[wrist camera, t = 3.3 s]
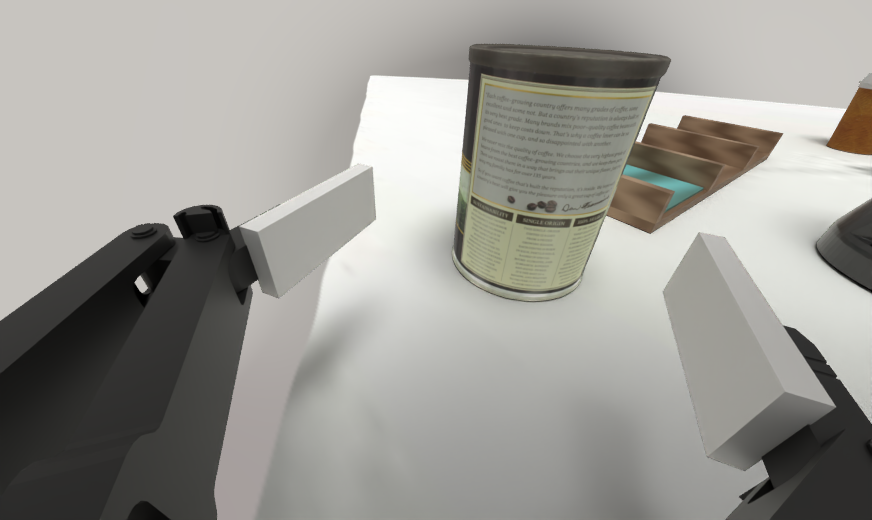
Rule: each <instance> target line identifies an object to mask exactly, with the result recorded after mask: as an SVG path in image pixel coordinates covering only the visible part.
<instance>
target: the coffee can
mask: <svg viewBox="0 0 872 520" xmlns="http://www.w3.org/2000/svg"><path fill="white" fill-rule="evenodd" d="M469 60H470V73H469V84H468V95H467V106H466V117H465V128H464V139H463V150H462V161H461V172H460V183H459V194H458V204H457V216H456V226H455V238H454V246H453V250H452V256H453V260H454V263H455V265H456V267H457V269H458V270H459V271H460V273H461V274H462V275H463V276H464V277H465V278H467V279H468V280H469V281H470V282H472V283H473V284H474V285H476V286H478V287H480V288H481V289H483V290H486V291H488V292H490V293H493V294H495V295H498V296H501V297H504V298H509V299H516V300H521V301H545V300H551V299H555V298H559V297H563V296H564V295H566V294H568V293H570V292H571V291H573V290H574V289H575V288H576V287H577V286H578V285H579V283H580V282H581V279H582V276H583V272H584V269H585V266H586V264H587V262H588V259H589V257H590V254H591V251H592V249H593V247H594V244H595V242H596V239H597V237H598V234H599V231H600V229H601V226H602V224H603V221H604V219H605V217H606V214H607V212H608V209H609V206H610V204H611V201H612V199H613V197H614V194H615V191H616V189H617V187H618V184H619V182H620V179H621V177H622V174H623V172H624V169H625V167H626V165H627V162H628V159H629V157H630V154H631V152H632V149H633V146H634V144H635V141H636V139H637V137H638V134H639V132H640V129H641V126H642V124H643V121H644V119H645V116H646V113H647V111H648V108H649V106H650V103H651V101H652V98H653V96H654V94H655V91H656V89H657V86H658V84H659V81H660V78H661V77H662V76H663V75H664V74H665V73H666V71H667V69H668V67H669V64H670V62H671V59H670V58H668V57H666V56H662V55H653V54H646V53H636V52H635V53H634V52H623V51H614V50H599V49H585V48H572V47H555V46H554V47H553V46H552V47H551V46H533V45H514V44H475V45H472V46H470V49H469Z"/></svg>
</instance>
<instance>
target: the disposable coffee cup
mask: <svg viewBox="0 0 872 520" xmlns="http://www.w3.org/2000/svg"><path fill="white" fill-rule="evenodd" d="M859 83H860V85H859V89H858V90H857V92H856V94H855V96H854V98H853V99H852V101H851V103H850V105H849V106H848V108H847V110H846V112H845V113H844V115H843V117H842V119H841V121H840V122H839V124H838V126H837V128H836V130H835V131H834V133H833V135H832V137H831V138H830V140H829V142H828V144H827V146H828V147H830V148H833V149H837V150H841V151H845V152H851V153H857V154H866V155H871V154H872V73H870V74H869V75H868V76H867V77H866V78H864V79H863V80H862V81H860V82H859Z"/></svg>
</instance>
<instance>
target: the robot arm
mask: <svg viewBox="0 0 872 520" xmlns="http://www.w3.org/2000/svg"><path fill="white" fill-rule="evenodd" d="M173 217H174V219H175V221H176V223H177V225H178V228H179V230H180V232H181V234H182V236H183V238H175V237H173V235H172V233H171V231H170V229H169V227H168V226H167V225H165V224H159V223H154V224H150V223H147V224H144V225H143V224H141V225H138V226H136V227H134V228H131V229H129V230H127V231H125V232H124V233H122V234H121V235H119V236H118V237H116V238H115V239H114V240H112V241H111V242H110V243H108V244H107V245H105V246H104V247H103V248H101V249H100V250H98V251H97V252H96V253H94V254H93V255H92V256H90V257H89V258H87V259H86V260H84V261H83V262H82V263H80V264H79V265H78V266H76V267H75V268H73V269H72V270H70V271H69V272H68V273H66V274H65V275H64V276H62V277H61V278H59V279H58V280H57V281H55V282H54V283H52V284H51V285H50V286H48V287H47V288H46V289H44V290H43V291H41V292H40V293H39V294H37V295H36V296H34V297H33V298H32V299H30V300H29V301H27V302H26V303H25V304H23V305H22V306H20V307H19V308H18V309H16V310H15V311H14V312H12V313H11V314H9V315H8V316H7V317H5V318H4V319H2V320H1V321H0V520H217V510H216V505H215V498H214V486H215V480H216V475H217V470H218V465H219V459H220V455H221V450H222V445H223V440H224V435H225V430H226V425H227V420H228V415H229V409H230V404H231V400H232V394H233V389H234V385H235V379H236V374H237V369H238V364H239V360H240V355H241V350H242V344H243V340H244V335H245V329H246V325H247V319H248V314H249V309H250V304H251V299H252V294H253V292H252V288H251V284H252V283H254V282H255V281H257V280H258V281H259V284H260V287H261V290H262V292H263V293H265V294H268V295H271V296H273V297H276V298H280V297H282V296H283V295H284V294H285V293H286V292H288V291H289V290H290V289H291V288H293V287H294V286H295V285H296V284H297V283H298V282H300V281H301V280H302V279H303V278H305V277H306V276H307V275H309V274H310V273H311V272H312V271H313V270H315V269H316V268H317V267H318V266H319V265H321V264H322V263H323V262H324V261H325V260H327V259H328V258H329V257H330V256H332V255H333V254H334V253H335V252H337V251H338V250H339V249H340V248H341V247H343V246H344V245H345V244H346V243H348V242H349V241H350V240H351V239H352V238H354V237H355V236H356V235H357V234H359V233H360V232H361V231H362V230H363V229H365V228H366V227H367V226H368V225H370V224H371V223H372V222H373V221H374V220H376V211H375V196H374V182H373V167H372V166H367V165H362V164H357V165H355V166H353V167H351V168H349V169H347V170H345V171H344V172H342V173H340V174H338V175H336V176H334V177H332V178H330V179H328V180H326V181H325V182H323V183H321V184H319V185H317V186H315V187H313V188H311V189H310V190H307V191H306V192H303V193H302V194H300V195H298V196H296V197H294V198H292V199H290V200H288V201H286V202H284V203H283V204H280V205H278V206H276V207H274V208H272V209H270V210H268V211H266V212H264V213H262V214H260V216H256V217H254V218H253V219H251V220H249V221H247V222H245V223H243V224H241V225H239V226H237V227H235V228H233V229H231V230H229V227H228V225H227V222H226V219H225V216H224V214H223V211H222V209H221V208H220V207H218V206H215V205H200V206H193V207H190V208H186V209H184V210H182V211H180V212H177V213H176V214H175V215H174V216H173ZM817 248H818V250H819V252H820V253H821V255H822V256H823V257H824V258H825V259H826V260H827V261H828V262H829V263H830V264H832V265H833V266H834V267H835V268H837V269H838V270H840V271H841V272H842V273H844V274H845V275H847V276H849V277H850V278H852V279H853V280H855V281H857V282H858V283H860V284H862V285H864V286H865V287H867V288H869V289H871V290H872V198H871V199H870V200H868V201H867V202H865V203H863V204H862V205H860V206H858V207H857V208H855V209H854V210H852V211H850V212H849V213H847V214H846V215H844V216H842V217H841V218H839V219H838V220H837V221H835V222H834V223H833V224H832V225H831V226H830V228H829V229H828V230H827V231H826V232H825V233H824V234H823V236H822V237H821V238H820V239H819V240H818V242H817ZM140 275H141V277H142V278H143V280H144V282H145V283H146V285H147V287H148V289H147V290H146V291H145V292H144V293H141V292H140V291H139V289H138V288H137V286H136V285H135V283H134V282H135V281H136V279H137V278H138V277H139V276H140ZM663 295H664V299H665V302H666V306H667V310H668V314H669V317H670V321H671V325H672V329H673V332H674V336H675V340H676V343H677V347H678V351H679V355H680V358H681V362H682V366H683V370H684V373H685V377H686V381H687V384H688V388H689V392H690V396H691V399H692V403H693V407H694V411H695V414H696V418H697V422H698V425H699V429H700V433H701V437H702V440H703V444H704V448H705V451H706V455H707V457H708V458H711V459H714V460H716V461H719V462H722V463H724V464H727V465H730V466H733V467H735V468H738V469H741V470H743V471H746V470H747V469H749V468H750V467H752V466H753V465H754V464H756V463H757V462H759V461H760V460H763V462H764V465H765V467H766V470H767V472H768V475H769V478H767V479H766V480H764V481H763V482H761V483H759V484H758V485H756V486H755V487H753V488H752V489H750V490H748V491H747V492H745V493H744V494H742V495H741V496H739V497H740V498H741V499H742V500H743V501H742V503H741V504H740V505H739V506H738V507H737V508H736V509H735V510H734V511H733V512H732V513H731V514H730V515H729V516H728V517H727V518H726V520H872V424H871V423H870V421H869V420H868V418H867V417H866V416H865V414H864V413H863V411H862V410H861V409H860V407H859V406H858V404H857V403H856V402H855V400H854V399H853V398H852V396H851V395H850V393H849V392H848V391H847V389H846V388H845V386H844V385H843V384H842V382H841V381H840V380H839V379H836V377H837V375H836V374H835V373H834V371H833V370H832V368H831V367H830V366H829V365H826V363H827V361H826V360H825V359H824V357H823V356H822V354H821V353H820V352H819V350H818V349H817V348H816V346H815V345H814V344H813V343H812V342H810V341H809V340H808V339H807V338H806V337H804V336H803V335H802V334H801V333H800V332H798V331H797V330H796V329H794V328H790V327H787V326H783V325H782V324H781V322H780V321H779V319H778V318H777V316H776V315H775V313H774V312H773V310H772V308H771V307H770V305H769V304H768V302H767V301H766V299H765V298H764V296H763V295H762V293H761V292H760V290H759V289H758V287H757V286H756V284H755V283H754V281H753V280H752V278H751V277H750V275H749V273H748V272H747V270H746V269H745V267H744V266H743V264H742V263H741V261H740V260H739V258H738V257H737V255H736V254H735V252H734V251H733V249H732V248H731V246H730V245H729V243H728V242H727V240H726V238H725V237H720V236H715V235H710V234H705V233H700V232H699V233H698V235H697V236H696V238H695V240H694V241H693V243H692V244H691V246H690V248H689V249H688V251H687V253H686V254H685V256H684V258H683V259H682V261H681V262H680V264H679V266H678V267H677V269H676V271H675V272H674V274H673V276H672V277H671V279H670V281H669V282H668V284H667V285H666V287H665V289H664V290H663Z"/></svg>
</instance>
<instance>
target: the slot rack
mask: <svg viewBox="0 0 872 520" xmlns="http://www.w3.org/2000/svg"><path fill="white" fill-rule="evenodd" d="M782 135H783V133H778V132H773V131H767V130H762V129H757V128H751V127H746V126H740V125H735V124H729V123H724V122H719V121H713V120H708V119H702V118H697V117H691V116H686V115H685V116H683V117H682V119H681V121H680V123H679V126H678V128H677V129H676V128H671V127H666V126H661V125H657V124H652V123H651V124H649V125H648V127H647V129H646V132H645V134H644V137H643V139H642V142H641V143H640V142H636V141H635V144H634V146H633V149H632V152H631V154H630V157H629V159H628V162H627V165H626V167H625V169H624V172H623V174H622V177H621V179H620V182H619V184H618V187H617V189H616V191H615V194H614V197H613V199H612V201H611V204H610V206H609V209H608V212H607V214H606V215H608V216H610V217H612V218H615V219H617V220H620V221H622V222H624V223H627V224H629V225H631V226H634V227H636V228H639V229H641V230H643V231H646V232H648V233H652V232H653V231H655V230H657V229H658V228H660V227H661V226H663V225H664V224H666V223H668V222H669V221H671V220H672V219H674V218H675V217H677V216H678V215H680V214H682V213H683V212H685V211H686V210H688V209H689V208H691V207H692V206H694V205H696V204H697V203H699V202H700V201H702V200H703V199H705V198H707V197H708V196H710V195H711V194H713V193H714V192H716V191H717V190H719V189H721V188H722V187H724V186H725V185H727V184H728V183H730V182H732V181H733V180H735V179H736V178H738V177H739V176H741V175H742V174H744V173H746V172H747V171H749V170H750V169H752V168H753V167H755V166H757V165H758V164H760V163H761V162H763V161H764V160H766V159H767V158H768V156H769V155H770V153H771V152H772V150H773V149H774V147H775V146H776V144H777V143H778V141H779V140H780V138H781V136H782Z"/></svg>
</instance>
